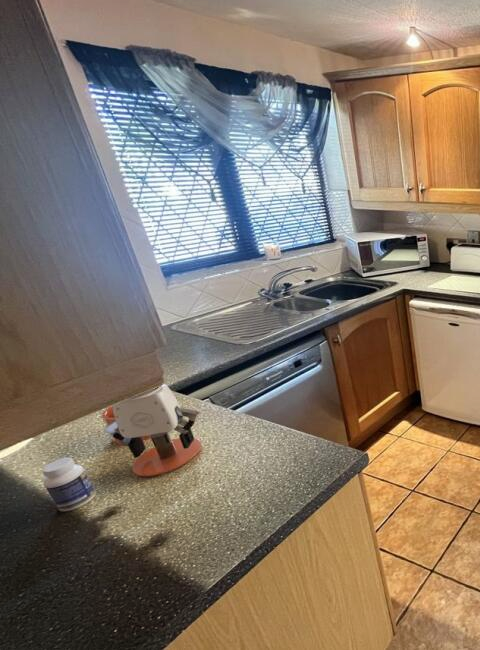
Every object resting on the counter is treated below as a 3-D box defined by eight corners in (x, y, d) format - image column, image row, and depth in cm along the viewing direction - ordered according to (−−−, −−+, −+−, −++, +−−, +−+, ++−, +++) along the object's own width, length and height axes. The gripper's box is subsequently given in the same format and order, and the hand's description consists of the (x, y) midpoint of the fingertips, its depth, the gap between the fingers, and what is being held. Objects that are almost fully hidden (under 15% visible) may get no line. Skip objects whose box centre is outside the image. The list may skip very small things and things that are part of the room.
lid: (121, 484, 83) (108, 458, 81) (152, 446, 94) (141, 423, 92) (188, 471, 87) (177, 445, 84) (210, 436, 98) (202, 413, 95)
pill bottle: (100, 497, 80) (80, 460, 77) (63, 516, 76) (40, 478, 72) (91, 487, 83) (72, 451, 79) (55, 505, 78) (33, 468, 75)
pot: (102, 448, 94) (90, 423, 91) (130, 420, 104) (119, 397, 101) (158, 438, 97) (147, 414, 94) (180, 412, 107) (171, 389, 105)
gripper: (75, 403, 78) (109, 469, 84) (177, 388, 82) (201, 451, 88) (100, 384, 84) (129, 446, 90) (192, 371, 89) (214, 431, 95)
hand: (165, 448), depth 89 cm, fingers open, 9 cm apart
